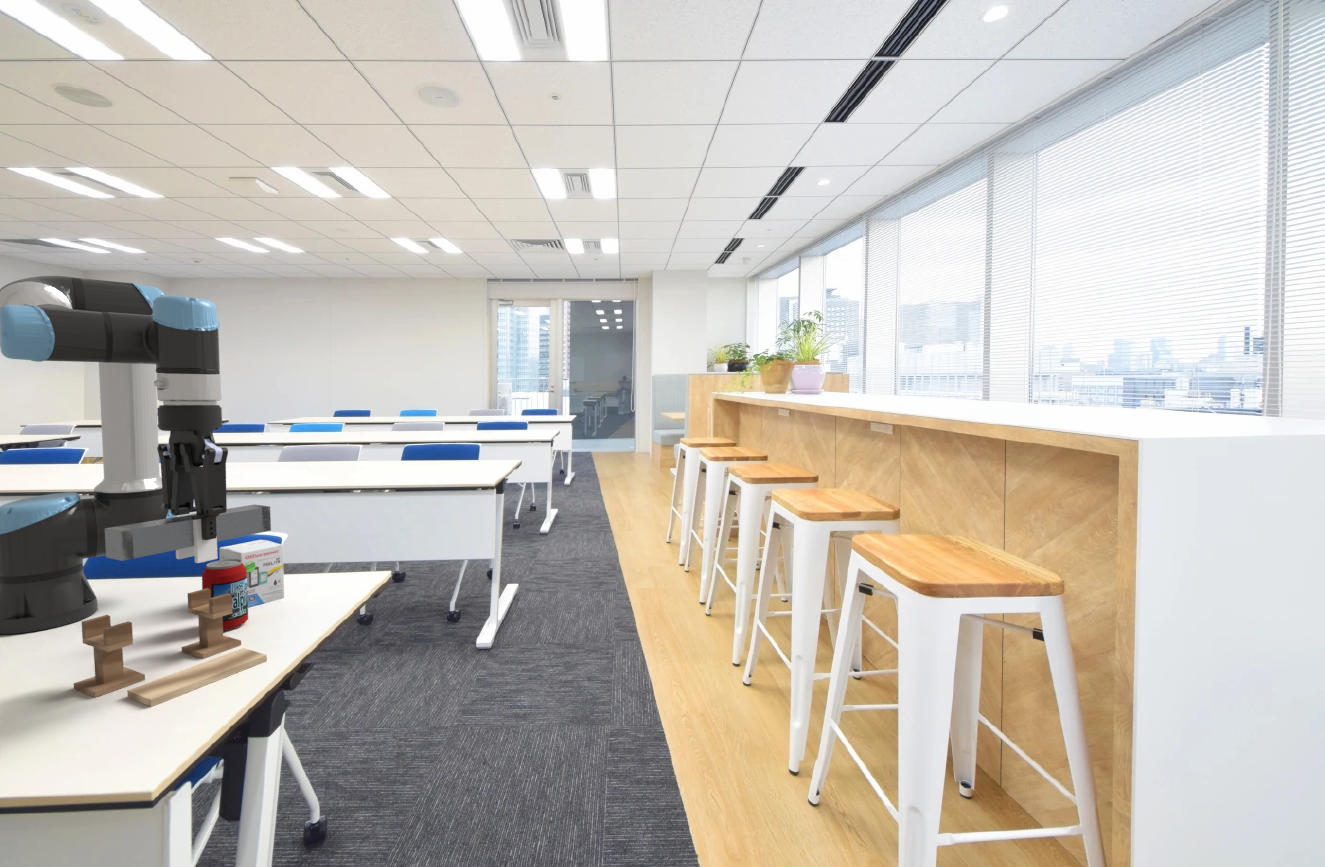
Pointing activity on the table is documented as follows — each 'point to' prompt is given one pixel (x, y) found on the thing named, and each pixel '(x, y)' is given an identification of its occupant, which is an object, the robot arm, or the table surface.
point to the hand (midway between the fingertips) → (196, 558)
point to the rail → (181, 532)
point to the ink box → (259, 569)
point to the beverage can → (229, 588)
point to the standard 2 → (210, 623)
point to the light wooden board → (195, 677)
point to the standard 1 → (107, 656)
